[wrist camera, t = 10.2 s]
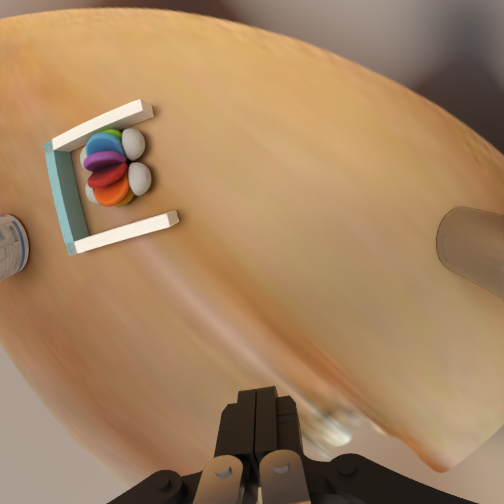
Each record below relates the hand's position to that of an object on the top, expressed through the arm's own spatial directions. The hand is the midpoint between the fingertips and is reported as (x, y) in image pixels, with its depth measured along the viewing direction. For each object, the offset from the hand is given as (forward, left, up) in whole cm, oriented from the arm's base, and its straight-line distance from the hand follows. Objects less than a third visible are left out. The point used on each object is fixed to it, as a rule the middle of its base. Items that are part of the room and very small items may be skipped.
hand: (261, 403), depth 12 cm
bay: (+16, -14, -26) cm, 33 cm away
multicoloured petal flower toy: (+14, -15, -27) cm, 34 cm away
